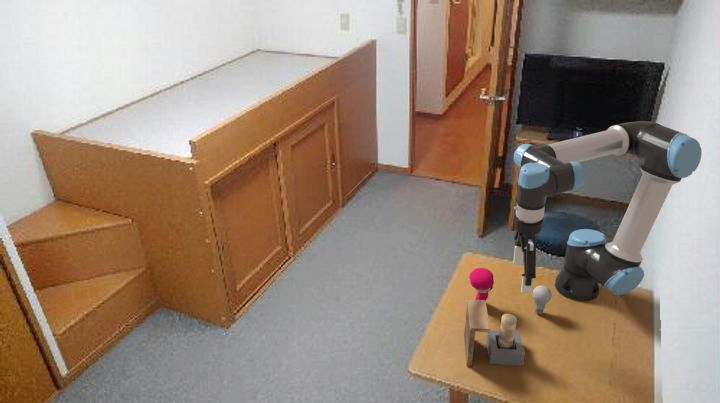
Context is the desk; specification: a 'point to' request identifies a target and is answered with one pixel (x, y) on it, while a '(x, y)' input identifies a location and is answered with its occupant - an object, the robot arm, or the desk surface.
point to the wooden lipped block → (474, 325)
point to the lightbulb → (541, 298)
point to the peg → (507, 331)
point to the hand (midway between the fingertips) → (521, 277)
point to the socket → (505, 350)
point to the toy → (481, 282)
